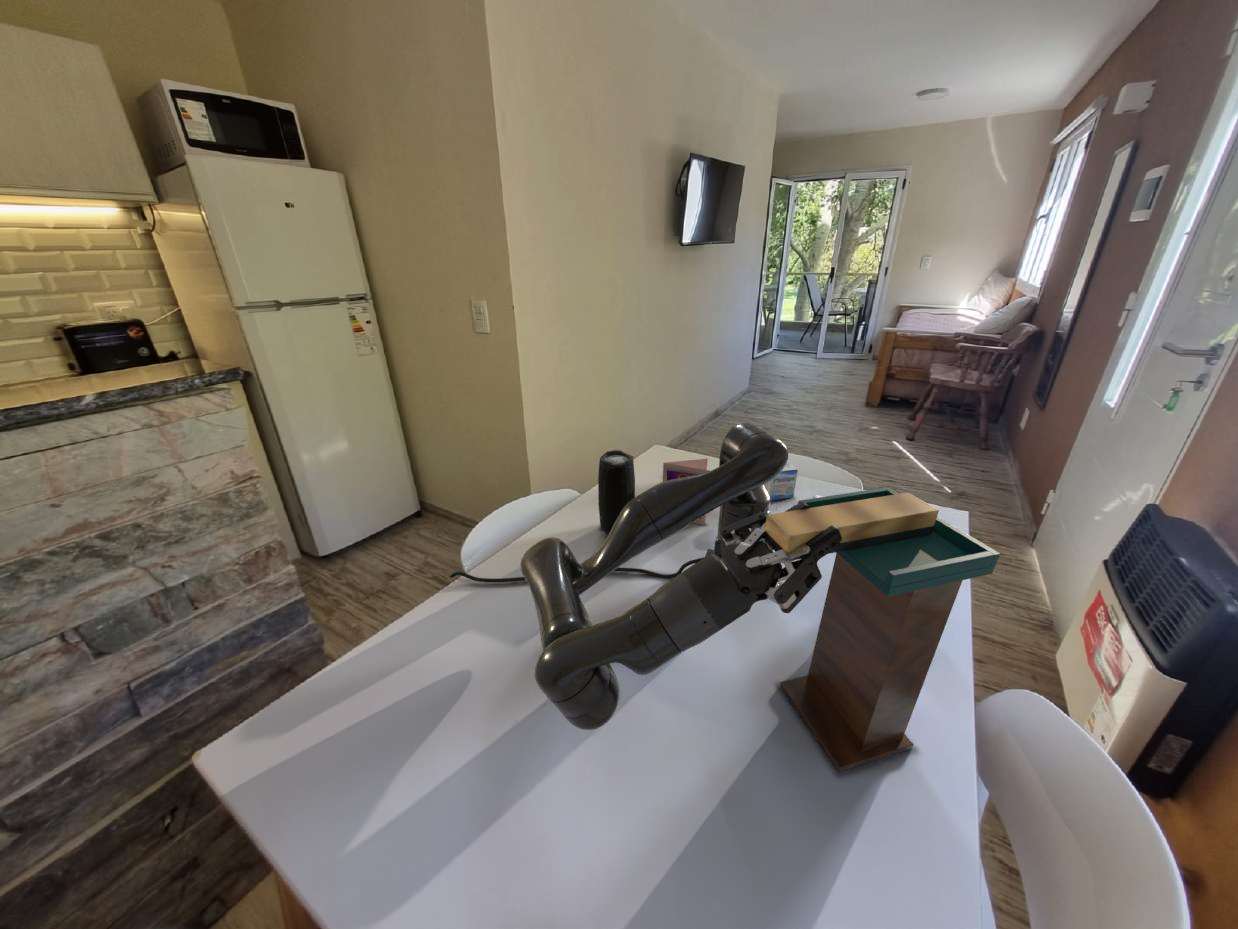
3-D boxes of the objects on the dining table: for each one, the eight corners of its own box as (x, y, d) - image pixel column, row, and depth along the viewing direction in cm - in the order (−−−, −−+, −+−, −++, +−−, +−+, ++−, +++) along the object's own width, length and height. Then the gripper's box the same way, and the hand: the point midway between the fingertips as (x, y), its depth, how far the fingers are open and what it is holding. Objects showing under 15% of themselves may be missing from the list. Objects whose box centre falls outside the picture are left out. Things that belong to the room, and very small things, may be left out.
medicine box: (768, 501, 129) (772, 472, 126) (759, 494, 133) (763, 466, 130) (793, 498, 131) (798, 469, 128) (784, 490, 135) (789, 462, 132)
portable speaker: (601, 541, 112) (599, 466, 104) (597, 520, 121) (595, 449, 112) (637, 538, 113) (638, 463, 105) (631, 518, 122) (631, 447, 113)
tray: (887, 597, 49) (893, 575, 48) (795, 518, 63) (798, 500, 62) (992, 574, 52) (1000, 553, 51) (882, 504, 66) (887, 486, 65)
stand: (838, 772, 63) (895, 587, 50) (779, 686, 76) (812, 520, 63) (912, 749, 66) (983, 568, 53) (843, 670, 79) (888, 507, 66)
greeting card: (660, 517, 122) (662, 464, 116) (668, 503, 128) (671, 452, 122) (703, 526, 118) (708, 472, 112) (710, 512, 124) (715, 459, 118)
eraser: (785, 562, 52) (790, 536, 51) (763, 539, 56) (766, 514, 55) (931, 534, 57) (939, 510, 56) (901, 515, 61) (908, 492, 60)
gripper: (713, 628, 46) (859, 531, 47) (662, 546, 59) (777, 469, 59) (741, 668, 50) (876, 578, 50) (687, 583, 63) (795, 511, 63)
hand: (822, 520), depth 55 cm, fingers closed on eraser, 4 cm apart
